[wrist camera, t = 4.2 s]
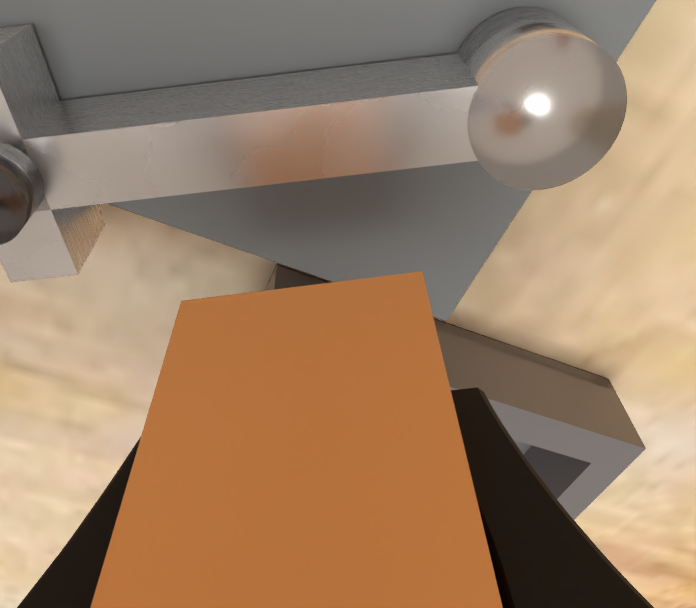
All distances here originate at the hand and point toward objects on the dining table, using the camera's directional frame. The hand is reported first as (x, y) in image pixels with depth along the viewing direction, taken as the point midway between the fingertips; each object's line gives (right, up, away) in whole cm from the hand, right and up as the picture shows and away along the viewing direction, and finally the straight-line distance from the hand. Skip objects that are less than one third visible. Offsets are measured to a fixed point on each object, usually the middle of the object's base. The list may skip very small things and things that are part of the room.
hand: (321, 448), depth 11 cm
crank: (-1, +7, +5) cm, 9 cm away
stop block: (0, +1, +1) cm, 2 cm away
